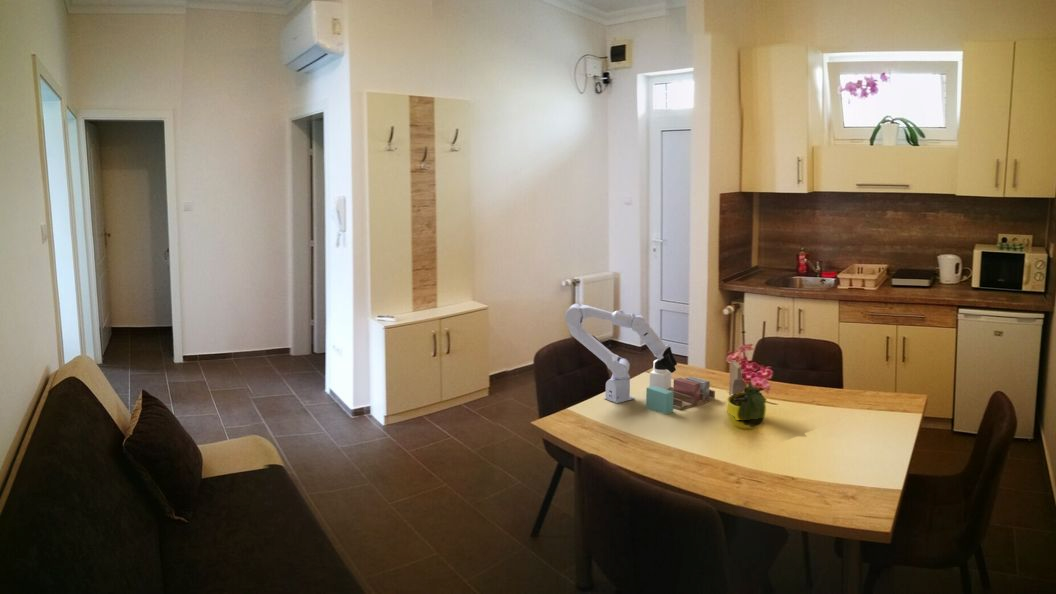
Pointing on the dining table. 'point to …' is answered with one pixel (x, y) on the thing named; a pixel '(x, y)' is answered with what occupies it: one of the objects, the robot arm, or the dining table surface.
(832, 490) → the dining table surface
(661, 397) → the teal book
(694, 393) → the book rack
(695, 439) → the dining table surface
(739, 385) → the decorative block
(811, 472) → the dining table surface
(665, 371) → the medicine bottle
